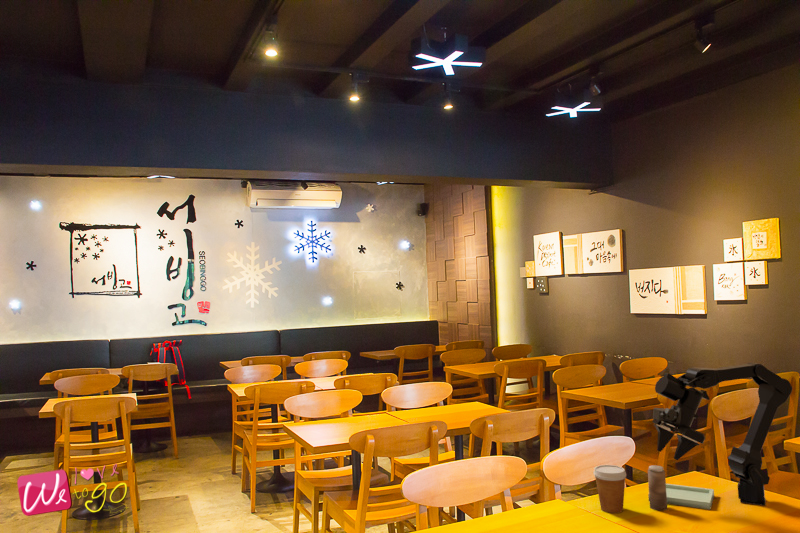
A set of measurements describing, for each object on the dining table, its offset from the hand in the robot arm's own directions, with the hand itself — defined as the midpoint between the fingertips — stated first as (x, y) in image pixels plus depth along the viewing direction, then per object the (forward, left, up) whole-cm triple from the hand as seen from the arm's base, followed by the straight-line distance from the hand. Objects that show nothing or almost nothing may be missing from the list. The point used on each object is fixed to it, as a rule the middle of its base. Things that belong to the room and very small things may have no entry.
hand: (666, 455), depth 177 cm
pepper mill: (+3, +1, -16) cm, 16 cm away
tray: (-2, -10, -16) cm, 19 cm away
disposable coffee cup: (+15, +8, -16) cm, 23 cm away
